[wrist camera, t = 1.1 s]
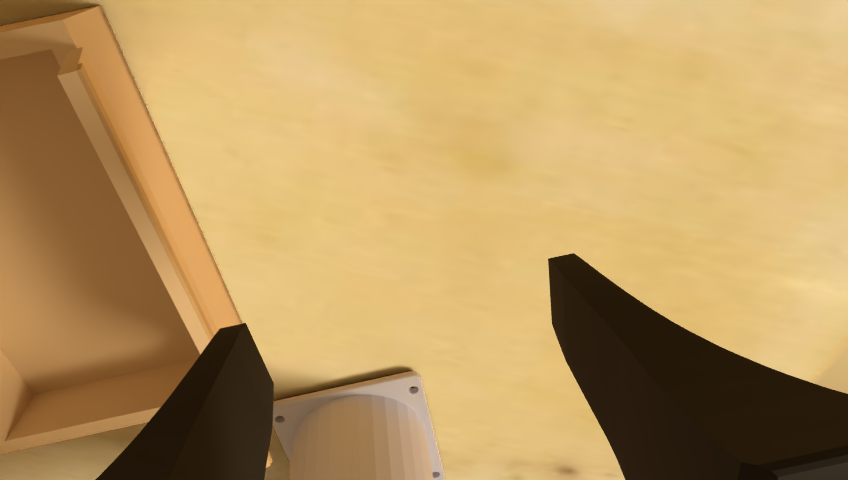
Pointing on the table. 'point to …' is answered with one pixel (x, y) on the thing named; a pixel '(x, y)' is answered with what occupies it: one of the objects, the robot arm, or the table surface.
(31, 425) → the carton
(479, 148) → the table surface
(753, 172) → the table surface
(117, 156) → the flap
